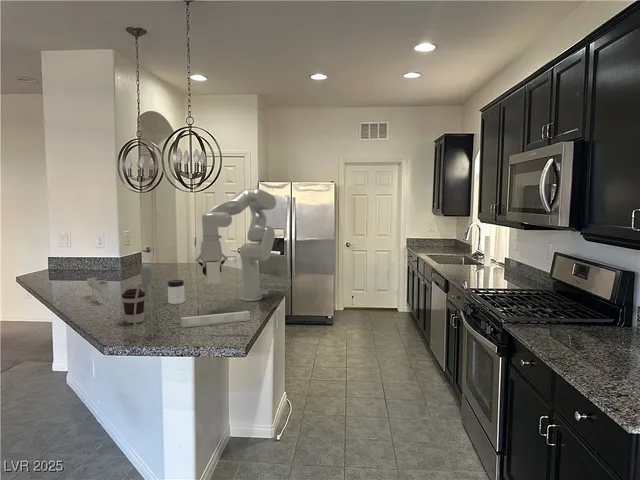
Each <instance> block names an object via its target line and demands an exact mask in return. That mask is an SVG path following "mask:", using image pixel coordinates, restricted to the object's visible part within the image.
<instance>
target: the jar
mask: <svg viewBox="0 0 640 480" xmlns="http://www.w3.org/2000/svg"><path fill="white" fill-rule="evenodd" d="M167 285H168V286H167V299H168V300H167V301H168V302H167V303H168V304H171V305H178V304H183V303H184V302H186V297H185V296H186V294H185V284H184V279H172V280H171V279H170V280H168V281H167Z"/></svg>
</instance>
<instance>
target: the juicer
mask: <svg viewBox="0 0 640 480" xmlns="http://www.w3.org/2000/svg"><path fill="white" fill-rule="evenodd" d="M140 277H141V278H140V279H141V280H140V281H141V282H138V284H137V288H136V289H137V291H136V296H135V304H134V323H133V333H134V335H135V336H136V335H137V330H136V329H137V323H136V305H137V298H138V294H139V290H140V289H143V292H145V296H146V297H147V298H148V306H149V307H148V308H149V315H150V317H149V318H150V327H151V328H150V329H151V338H152V339H153V338H154V330H153V329H154V327H153V326H154V325H153V323H154V322H153V304H152V302H153V301H152V292H153V295H154V298H155V306H156V311H157V312H156V314H157V322H158V331H159V332H160V331H161V324H160V323H161V322H160V321H161V320H160V310H159V309H160V308H159V301H158V295H157V290H156V287H155V283H154V281H152V277H153V274H152V267H151V266H150V265H149V264H148V263H144V264H143V265H141V268H140ZM151 289H152V290H151Z"/></svg>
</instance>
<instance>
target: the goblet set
mask: <svg viewBox="0 0 640 480" xmlns="http://www.w3.org/2000/svg"><path fill="white" fill-rule="evenodd" d="M86 284H87V286H89V287H90V288H91V291H92V292H94V294H92V296H90V298H89V299H94V300H93V301H99V302H98V303H100V304H101V305H100V306H107V305H110V303H108V302H107V301H106V298H105V296H106V293H107V292H108V289H109V283H108V282H107V281H106V278H101V277H100V276H98V275H97V276H88V277H87V278H86ZM94 295H95V296H94ZM99 295H100V297H99ZM102 296H103V297H102ZM102 298H103V299H102ZM98 303H97V304H98Z"/></svg>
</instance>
